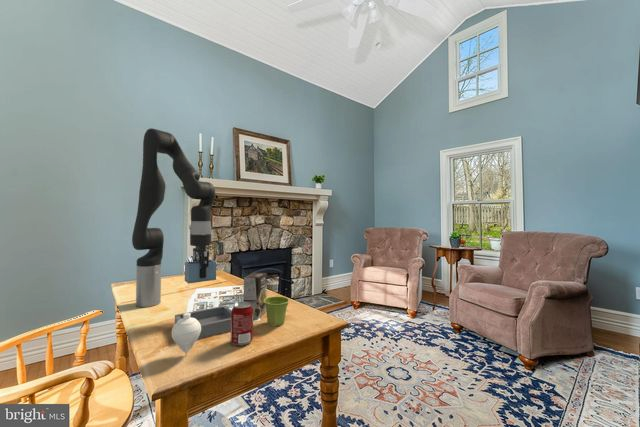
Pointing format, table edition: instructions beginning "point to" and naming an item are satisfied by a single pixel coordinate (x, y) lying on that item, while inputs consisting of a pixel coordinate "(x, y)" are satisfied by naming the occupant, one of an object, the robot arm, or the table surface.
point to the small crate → (194, 272)
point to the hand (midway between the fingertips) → (200, 276)
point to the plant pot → (276, 310)
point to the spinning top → (186, 332)
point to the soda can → (241, 323)
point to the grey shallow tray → (211, 320)
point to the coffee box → (256, 292)
